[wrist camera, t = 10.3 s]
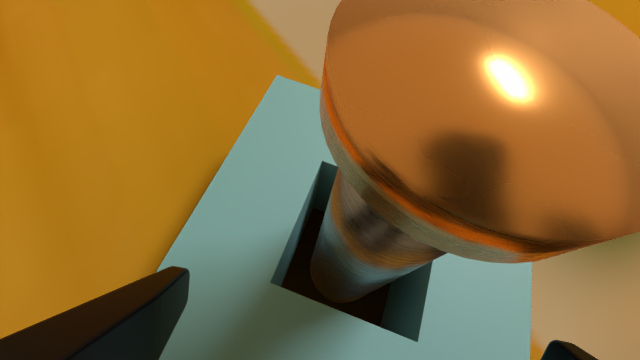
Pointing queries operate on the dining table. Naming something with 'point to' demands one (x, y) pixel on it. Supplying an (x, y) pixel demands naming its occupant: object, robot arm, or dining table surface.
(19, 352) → the robot arm
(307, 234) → the dining table surface
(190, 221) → the block
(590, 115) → the pin
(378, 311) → the dining table surface
